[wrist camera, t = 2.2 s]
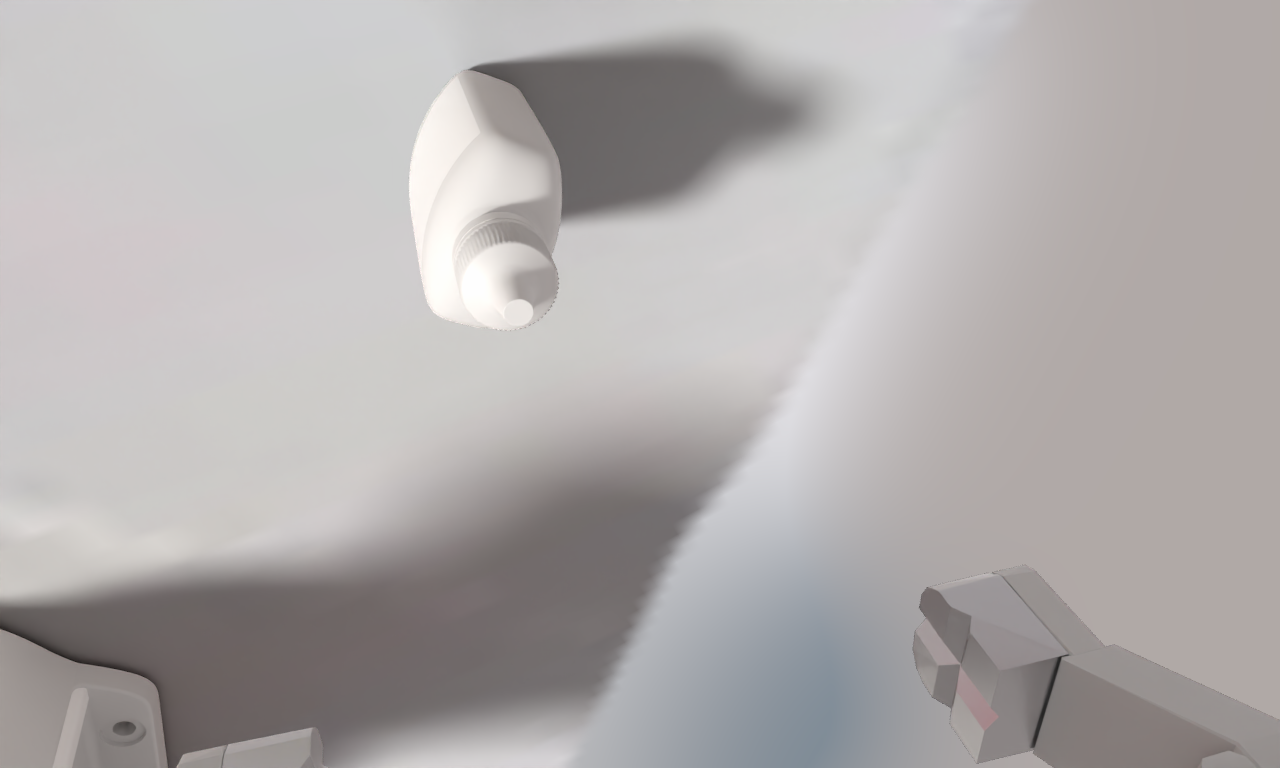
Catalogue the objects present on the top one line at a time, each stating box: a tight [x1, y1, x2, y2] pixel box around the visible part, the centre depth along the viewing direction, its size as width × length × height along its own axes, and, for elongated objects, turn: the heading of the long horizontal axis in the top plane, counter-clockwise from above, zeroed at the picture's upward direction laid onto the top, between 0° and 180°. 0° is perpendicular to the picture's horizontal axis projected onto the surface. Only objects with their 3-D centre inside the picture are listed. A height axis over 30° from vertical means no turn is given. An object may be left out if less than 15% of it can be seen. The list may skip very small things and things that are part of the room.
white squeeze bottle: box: [409, 70, 562, 331], centre depth 26 cm, size 4×6×12 cm
